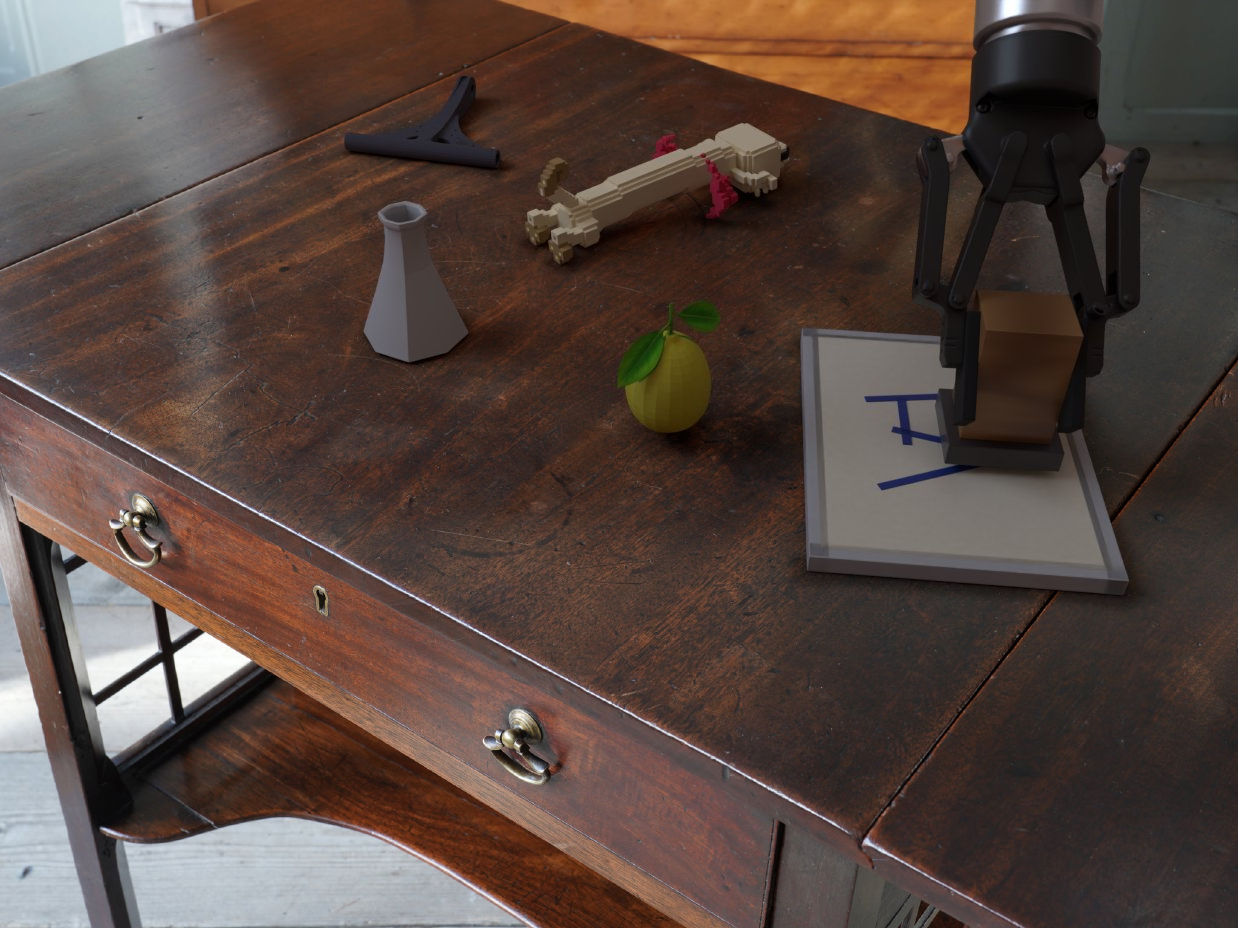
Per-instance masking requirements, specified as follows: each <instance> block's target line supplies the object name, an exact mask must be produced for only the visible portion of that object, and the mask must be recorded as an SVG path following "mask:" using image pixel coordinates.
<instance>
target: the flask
mask: <svg viewBox="0 0 1238 928" xmlns="http://www.w3.org/2000/svg"><path fill="white" fill-rule="evenodd" d="M428 214H429V213H428V212H427V211H426V210H425V208H424V207H423V205H422V204H418V203H415V202H411V201H408V200H404V201H400V202H394V203H391V204H388V205H386V206H385V207H383V208H382V209H380V210H379V211H377V217H378V219H379V221H380V223H381V224H382V225H383V231H384V249H383V261H382V266H381V270H380V273H379V277H378V281H377V284H376V288H375V291H374V296H373V299H372V302H371V305H370V308H369V311H368V314H367V317H366V321H365V325H364V328H363V333H364V335H365V337H366V338H367V340H368V342H369V344H370V345H371V347H372V348H373V350H374V352H376V353H378V354H382V355H385V356H388V357H390V358H394V359H396V360H400V361H403V362H407V363H412V362H415V361H416V362H417V361H420V360H423V359H428V358H431V357H435V356H439V355H443V354H446V353H448V352H450V351H451V350H452V349H453V348H454V347H455V346H456V345H457V344H458V343H459V342H461V341H462V339H463V338H465V337H466V336H467V335H468V334H469V330H468V329H467V327H466V325H465V323H464V321H463V319H462V317H461V316H460V313H459V311H458V309H457V308H456V306H455V304H454V301H453V300H452V298H451V297H450V295H449V293H448V291H447V288H446V287H445V285H444V283H443V280H442V278H441V276H440V274H439V272H438V270H437V268H436V266H435V264H434V261H433V258H432V256H431V252H430V249H429V246H428V242H427V238H426V230H425V229H426V228H425V222H427V221H428V218H429V215H428Z"/></svg>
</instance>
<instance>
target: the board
mask: <svg viewBox="0 0 1238 928" xmlns="http://www.w3.org/2000/svg"><path fill="white" fill-rule="evenodd" d="M940 336H941V335H926V334H925V335H923V334H909V333H895V332H894V333H892V332H878V331H877V332H876V331H862V330H861V331H860V330H847V329H846V330H845V329H830V328H829V329H828V328H814V327H813V328H812V327H802V328H801V333H800V341H799V343H800V346H799V347H800V376H801V378H800V379H801V380H800V381H801V410H802V411H801V413H802V414H801V416H802V445H803V446H802V447H803V448H802V449H803V481H804V482H803V484H804V517H805V548H806V551H805V552H806V553H805V554H806V571H807V572H818V573H830V574H831V573H833V574H845V575H856V576H857V575H858V576H872V577H873V576H874V577H881V578H882V577H883V578H895V579H896V578H897V579H910V580H921V581H922V580H923V581H936V582H947V583H948V582H949V583H961V584H973V585H974V584H975V585H988V586H989V585H990V586H1001V587H1002V586H1003V587H1013V588H1015V587H1016V588H1025V589H1026V588H1027V589H1039V590H1040V589H1041V590H1053V591H1068V592H1079V593H1080V592H1081V593H1091V594H1103V595H1114V596H1115V595H1116V596H1124V594H1125V592H1126V589H1127V587H1128V585H1129V581H1130V579H1129V576H1128V573H1127V570H1126V566H1125V564H1124V560H1123V558H1122V554H1121V551H1120V548H1119V544H1118V542H1117V537H1116V535H1115V532H1114V528H1113V525H1112V523H1111V518H1110V516H1109V513H1108V510H1107V506H1106V502H1105V500H1104V496H1103V494H1102V491H1101V488H1100V484H1099V481H1098V478H1097V474H1096V472H1095V468H1094V464H1093V461H1092V459H1091V456H1090V453H1089V449H1088V446H1087V443H1086V440H1085V436H1084V434H1083V430H1082V429H1080V430H1078V431H1075V432H1072V433H1070V434H1069V433H1059V436H1060V439H1061V443H1062V446H1063V450H1064V453H1065V454H1064V457H1063V460H1062V464H1061V467H1060V470H1059V472H1055V471H1041V470H1027V469H1013V468H999V467H985V466H971V465H957V464H945V463H944V457H943V451H942V445H941V439H940V434H939V428H938V422H937V416H936V410H935V403H936V399H937V394H938V390H939V388H943V389H953V388H954V384H955V375H956V369H954V368H942V366H941V363H940V360H939V354H940ZM1057 422H1058V421H1057Z"/></svg>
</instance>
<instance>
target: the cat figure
mask: <svg viewBox="0 0 1238 928" xmlns="http://www.w3.org/2000/svg"><path fill="white" fill-rule="evenodd" d="M673 140H676V135H675V134H674V133H672V134H667V135H663V136H661V139H658V140H657V141H656V142H655V153H654V154H653V155H652V159H651V160H648V161H646V162H643V163H641V164H638V165H636V166H633V167H631V168H629V169H626V170H623V171H621V172H618V173H616V174H613V175H611V176H608V177H606V179H605V180H604V181H603V182H602V183H600V184H597V185H594V186H592V187H590V188H587V189H584V190H582V191H579V192H577V193H576V194H575V195H574V194H573V193H571V192H569V191H567V190H566V189H564V188H563V187H561V182H562V181H565V180H567V176H568V175H570V164H569V162H567V161H566V160H564V159H563V158H561V157H560V156H558V157H557V156H556V157H554V158H552V159H550V160H548V164H546V165H545V168H544V169H543V170H542V174H540V175H539V177H540V181H539V182H537V189H538V194H539V195H540V196H542V197H543V198H545V199H547V200H548V201H550V202H552V203H554V204H553V205H552V206H550V209H549V210H545V209H541V210H539V209H537V208H535V209H532V210H530V211H529V210H528V211H527V212H526V217H527V220H526V221H525V222H524V229H525V233H526V234H528V235H529V240H530V242H531V243H532V244H533V245H534V246H539V245H542V244H544V243H546V240H547V242H548V251H549V252H551V253H552V254H553V260H554V261H555V262H556V263H557V264H558V265H563V264H566V263H567V262H570V261H571V259H573V258H574V252H573V247H574V246H576V245H579V246H580V247H581V246H582V247H583V248H584V249H586V248H588V247H590V246H592V245H594V244H597V243H598V242H599V241H600V239H601V233H600V232H602V230H603V229H604V228H607V227H609V226H611V225H614V224H616V223H619V222H622V221H623V220H626V219H628V218H629V217H630V216H632V215H633V213H635V212H637V211H639V210H642V209H644V208H646V207H650V206H651V205H654V204H656V203H658V202H660V201H664V200H666V199H668V198H671V197H672V196H675V195H677V194H680V193H682V194H683V195H685V194H687V193H690V192H692V191H695V190H698V189H699V188H703V187H704V186H707V185H709V193H710V194H712V195H711V197H712V198H711V200H712V202H711V203H712V204H713V205H714V206H711V207H709V213H706V214H705V218H706V219H707V220H709V219H711V220H713V219H716V217H718V218H720V217H722V216H723V212H725V211H727V210H729V209H730V206H732V205H734V204H735V203H736V202H738V201H739V194H738V193H736V192H735V191H734V188H737V189H739V190H740V191H742V192H743V193H745V194H746V193H750V194H752V193H754V197H756V198H759V197H760V196H761V190H762V193H764V194H768V193H769V190H770V191H773V190H776V189H778V178H780V176H781V169H782V168H784V167H785V164H786V163H788V162H790V157H789V156H790V146H788V145H787V144H785V143H784V142H783V141H779V140H777V139H776V138H775V137H773V136H771V135H769V134H768V133H766V132H764V131H763V130H760V129H759V128H756V127H755V126H753V125H752V124H751V123H747V122H746V123H743V122H741V123H739V124H735V125H734V126H731V127H728V128H726V129H723V130H720V131H718V132H717V133H716V134H715V136H714V139H712V138H706V139H704V140H703V141H702V142H699V143H697V144H696V145H694V146H692V147H689V148H687V149H683V148H678V147H677V143H675V142H672V141H673ZM671 142H672V143H671ZM732 186H733V187H732ZM553 226H554V227H556V228H554V229H552V230H550V235H551V239H550V238H549V236H550V235H549V228H550V227H553Z"/></svg>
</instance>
